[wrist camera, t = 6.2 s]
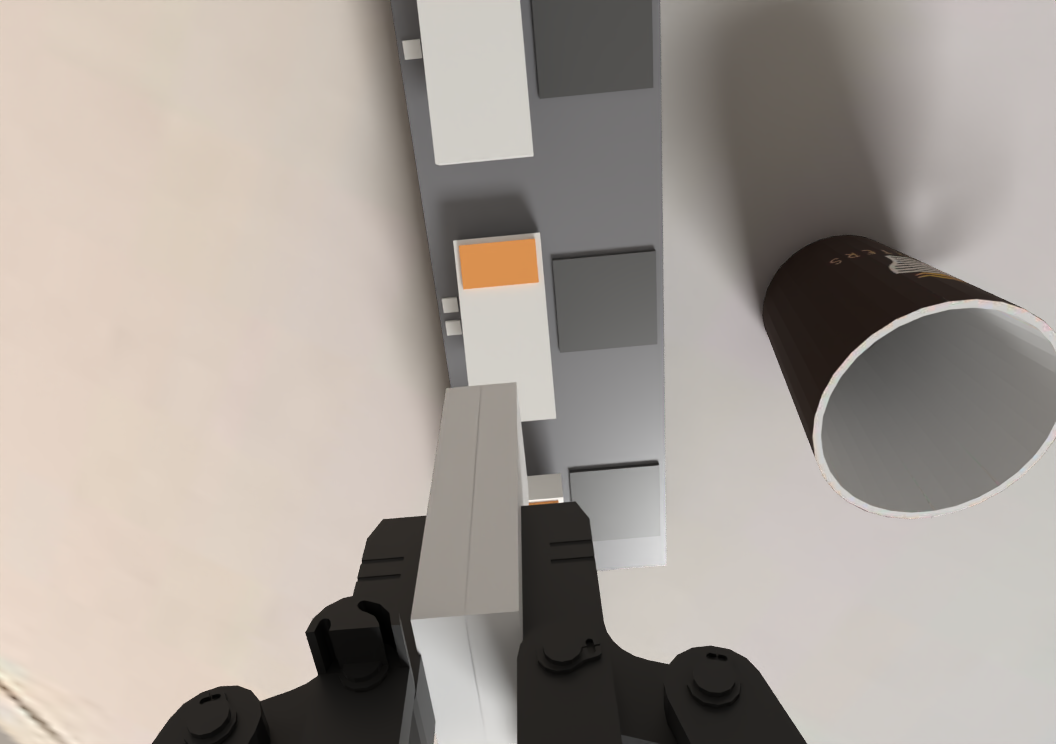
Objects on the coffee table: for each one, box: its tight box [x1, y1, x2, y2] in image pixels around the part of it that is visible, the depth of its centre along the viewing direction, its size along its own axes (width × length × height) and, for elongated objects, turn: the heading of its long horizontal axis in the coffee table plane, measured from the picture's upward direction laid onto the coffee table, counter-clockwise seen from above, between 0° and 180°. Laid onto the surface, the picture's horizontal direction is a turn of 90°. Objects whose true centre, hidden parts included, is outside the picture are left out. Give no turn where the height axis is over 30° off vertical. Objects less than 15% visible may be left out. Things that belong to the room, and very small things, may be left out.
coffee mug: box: [763, 235, 1056, 519], centre depth 32 cm, size 12×9×10 cm
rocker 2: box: [453, 233, 556, 422], centre depth 30 cm, size 7×3×1 cm, turn 5°
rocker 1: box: [417, 0, 534, 165], centre depth 25 cm, size 7×3×1 cm, turn 5°
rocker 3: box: [527, 473, 564, 505], centre depth 35 cm, size 7×3×1 cm, turn 6°
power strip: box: [390, 0, 667, 571], centre depth 35 cm, size 36×9×4 cm, turn 5°
